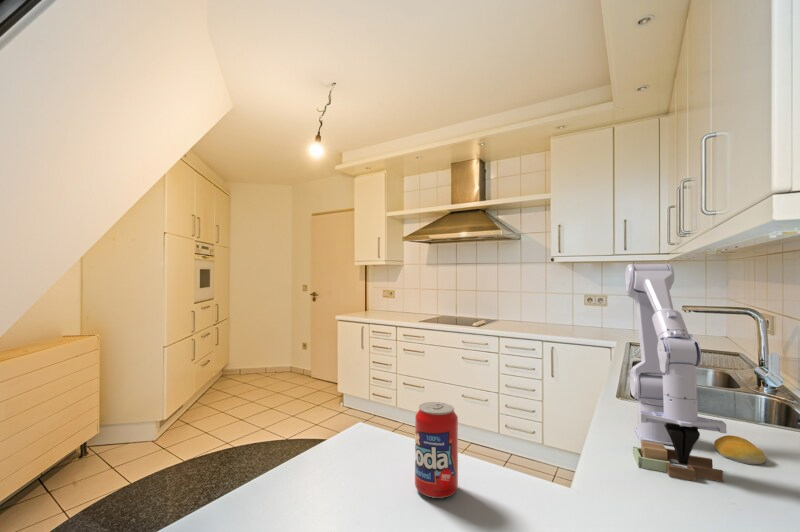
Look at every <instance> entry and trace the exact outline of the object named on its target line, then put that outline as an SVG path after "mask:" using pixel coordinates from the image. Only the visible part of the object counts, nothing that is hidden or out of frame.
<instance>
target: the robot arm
mask: <svg viewBox="0 0 800 532" xmlns="http://www.w3.org/2000/svg"><path fill="white" fill-rule="evenodd" d="M624 275H625V276H624V279H625V281H624V282H625V291H626V293H627V296H628V297H630V298H632V299H633V300H634V303H635V309H636V317H637V327H638V337H639V348H640V359H641V361H640V362H638V363H636V364H635V365H633V366H632V367H631V369H630V370H629V372H630V373H629V374H630V376H629V389H630V393H631V396H632V397H633V398H634V399H635V400H637V426H636V425H635V426H633V429H634V431H635V432H636V435H637V438H638V439H639V440H640V442H641V441H646V442H652V443H659V444H663V445H669V446H673V450H675V452H676V457H677V461H678V462H679V463H680V464H679V465H681V464H686V465H685V466H687V464H688V459H689V456H690V455H691V452H692V450H693V448H694V446H695V444H696V443H697V441H698V440H699V438H700V436H701V433H700V431H699V430H703V431H704V430H705V431H711V432H717V433H720V434H727V432H728V431H727V423H726V422H724V420H718V419H713V418H708V417H703V416H699V415H698V414H699V413H698V412H699V411H698V393H697V392H698V389H697V385H698V384H697V367H699V366H700V365H701V362H702V350H701V347H700V344H699V342H698V340H697V338H695V337H694V336H693V334H690V333H689V331H688V329H687V326H686V324H685V320H684V317H683V315H682V314H681V312H680V311H678V310H676V309H674V307H673V306H674V305H673V302H672V301H673V300H672V295H671V292H670V290H671V289H672V287H673V284H674V283H675V282H674V281H675V270H674V268H673V266H672V265H671V264H670V263H651V264H650V263H647V264H645V263H644V264H643V263H642V264H637V263H636V264H634V263H629V264H627V266H626V267H625V274H624ZM652 374H653V375H652Z"/></svg>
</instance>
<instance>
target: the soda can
mask: <svg viewBox="0 0 800 532" xmlns="http://www.w3.org/2000/svg"><path fill="white" fill-rule="evenodd" d="M414 417H415V421H414V423H415V424H414V425H415V426H414V427H415V430H414V433H415V434H414V435H415V436H414V440H415V441H414V445H415V446H414V486H415V488H416V490H417V491H418V492H419V493H420V494H422V495H424V496H425V495H426V497H427V496H428V498H430V497H432V498H431V499H435V498H441V499H445V498H444V497H446V498H448V497H450V496H451V497H452V495H454V494H455V493H456V492H457V490H458V486H459V479H458V478H459V451H458V450H459V419H458V415H457V413H456V411H455V407H454V406H453V405H452V404H449V403H445V402H440V401H429V402H424V403H422V404H419V407H418V411H416V414H415V416H414Z"/></svg>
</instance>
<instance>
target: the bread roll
mask: <svg viewBox="0 0 800 532" xmlns="http://www.w3.org/2000/svg"><path fill="white" fill-rule="evenodd" d="M713 446H714V449H715V450H716V451H717V452H718V453H719V454H720V455H721V456H722V457H723V458H725V459H728V460H731V461H735V462H738V463H742V464H747V465H754V466H755V465H762V464H764V463H765V462H766V459H767V457H766V453H764V451H763V450H762V449H761V448H758V447H757V446H756V445H754V443H752V442H751V441H749V440H748V439H745V438H744V437H740V436H737V435H732V434H731V435H729V434H728V435H727V434H726V435H724V436H720V437H718V438H717V439H715V440H714V442H713Z"/></svg>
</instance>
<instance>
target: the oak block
mask: <svg viewBox="0 0 800 532" xmlns="http://www.w3.org/2000/svg"><path fill="white" fill-rule="evenodd" d="M664 445H665V444H660V443H654V442H647V441H641V440H640V448H641V457H644V458H650V459H657V460H663V461H668V460H667V450H666V449H665V448H666V447H665V446H664Z"/></svg>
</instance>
